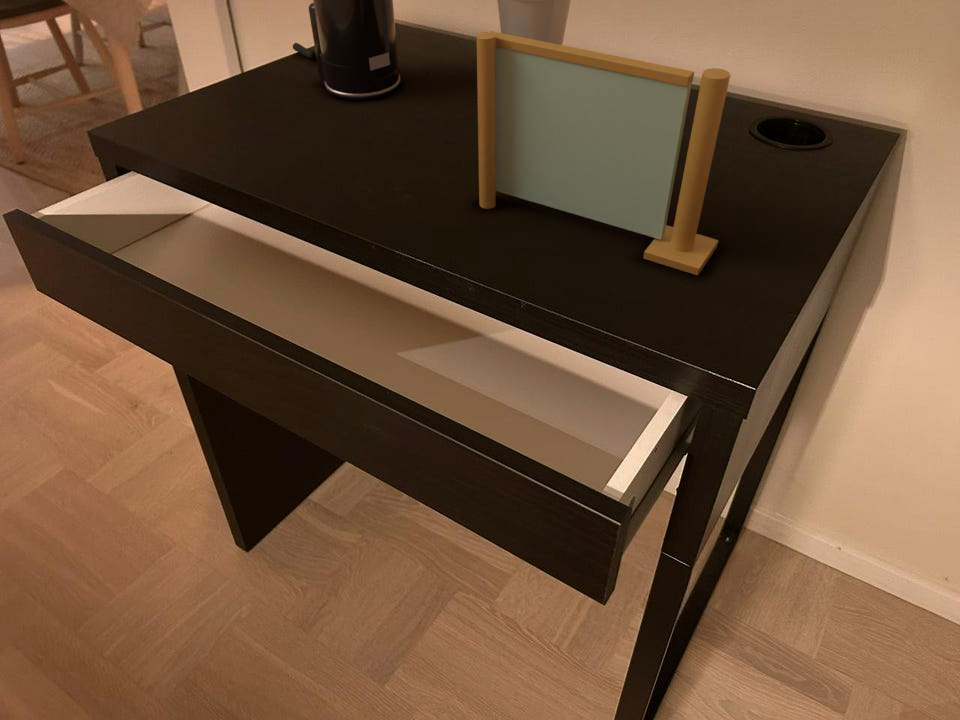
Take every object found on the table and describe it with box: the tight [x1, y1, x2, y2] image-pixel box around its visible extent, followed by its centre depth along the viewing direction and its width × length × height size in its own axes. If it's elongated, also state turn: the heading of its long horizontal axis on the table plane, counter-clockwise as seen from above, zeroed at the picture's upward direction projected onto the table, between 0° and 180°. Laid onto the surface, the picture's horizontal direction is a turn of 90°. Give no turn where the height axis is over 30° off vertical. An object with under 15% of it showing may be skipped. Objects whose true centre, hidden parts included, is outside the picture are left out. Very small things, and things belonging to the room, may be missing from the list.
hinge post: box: [642, 67, 731, 276], centre depth 61 cm, size 5×5×16 cm
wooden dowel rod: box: [476, 31, 497, 210], centre depth 67 cm, size 2×2×16 cm
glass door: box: [490, 30, 695, 240], centre depth 65 cm, size 18×1×15 cm, turn 59°
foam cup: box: [497, 0, 571, 45], centre depth 91 cm, size 10×9×13 cm
